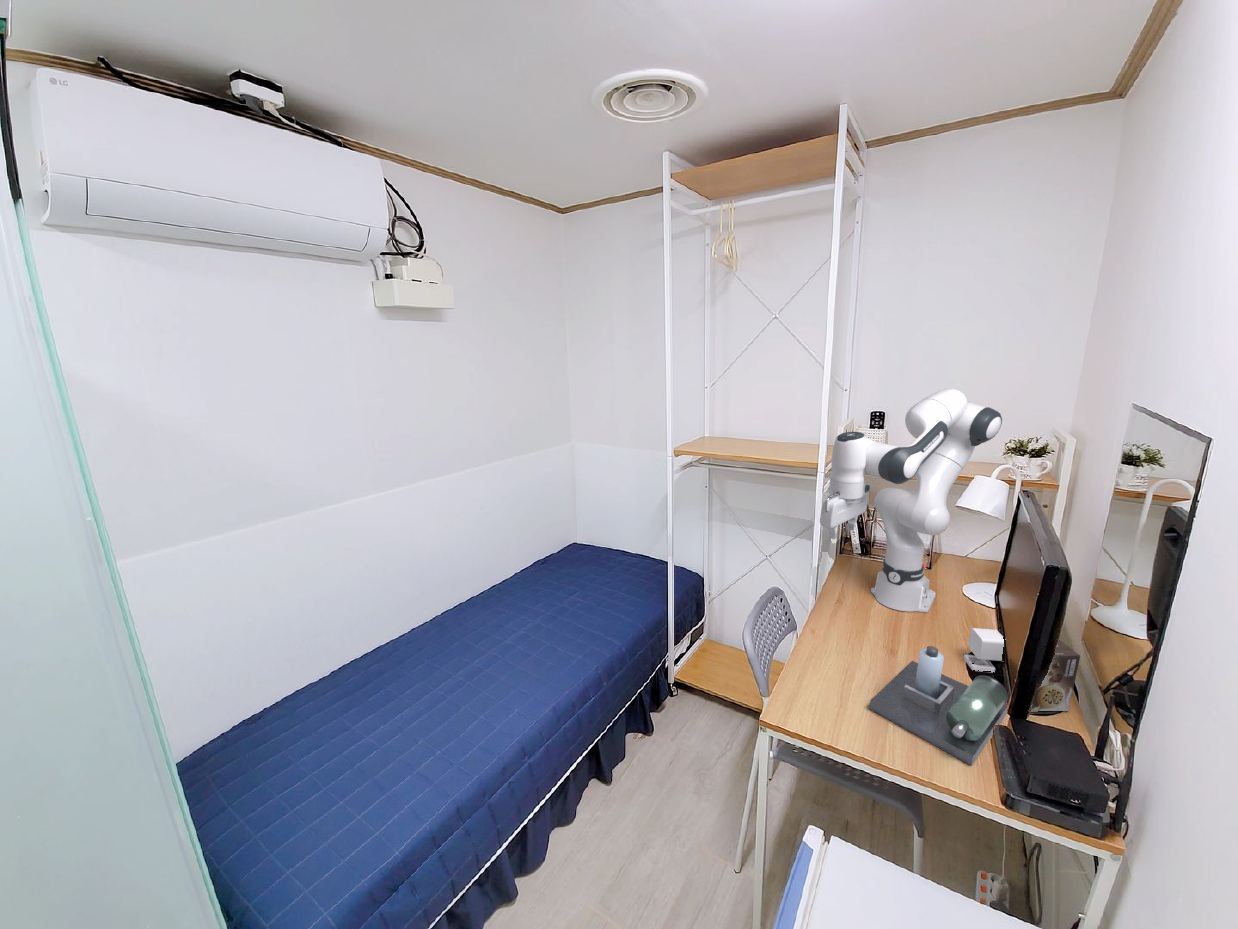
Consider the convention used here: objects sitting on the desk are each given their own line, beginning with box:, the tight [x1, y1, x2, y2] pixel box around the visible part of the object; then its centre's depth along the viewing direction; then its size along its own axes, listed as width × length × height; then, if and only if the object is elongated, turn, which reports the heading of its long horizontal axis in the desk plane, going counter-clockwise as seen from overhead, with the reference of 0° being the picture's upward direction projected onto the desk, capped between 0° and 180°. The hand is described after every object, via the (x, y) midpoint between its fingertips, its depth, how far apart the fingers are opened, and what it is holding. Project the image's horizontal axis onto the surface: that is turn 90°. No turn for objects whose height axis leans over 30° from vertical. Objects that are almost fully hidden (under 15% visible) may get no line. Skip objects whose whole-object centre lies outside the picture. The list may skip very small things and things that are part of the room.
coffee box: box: [1029, 639, 1081, 713], centre depth 122 cm, size 9×6×16 cm
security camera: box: [963, 627, 1004, 673], centre depth 137 cm, size 6×7×10 cm
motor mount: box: [868, 660, 1009, 767], centre depth 121 cm, size 24×22×10 cm
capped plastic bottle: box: [914, 645, 945, 700], centre depth 122 cm, size 5×5×14 cm
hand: (842, 533), depth 145 cm, fingers open, 8 cm apart
